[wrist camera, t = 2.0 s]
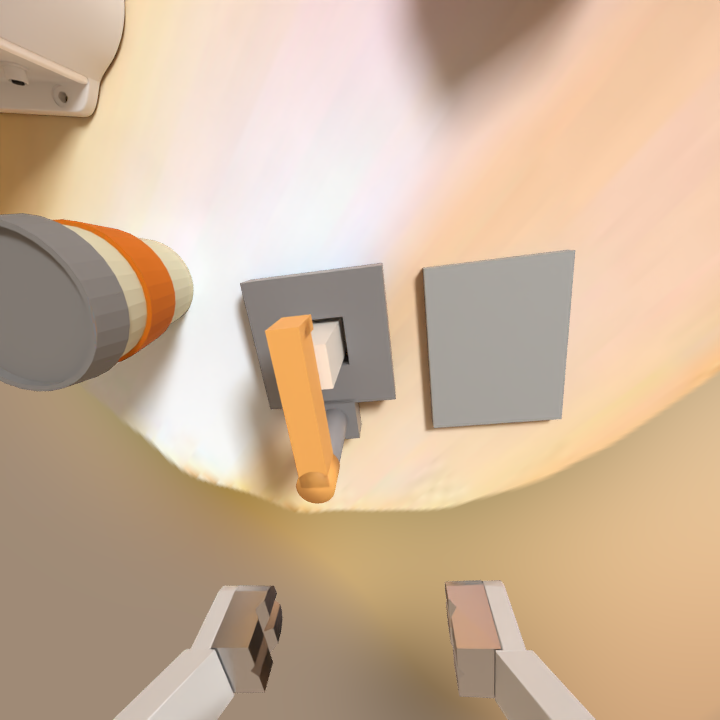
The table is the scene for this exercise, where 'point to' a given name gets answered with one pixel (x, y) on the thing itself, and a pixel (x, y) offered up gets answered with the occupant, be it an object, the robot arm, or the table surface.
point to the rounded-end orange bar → (303, 406)
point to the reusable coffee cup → (80, 299)
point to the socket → (362, 331)
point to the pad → (498, 338)
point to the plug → (328, 349)
